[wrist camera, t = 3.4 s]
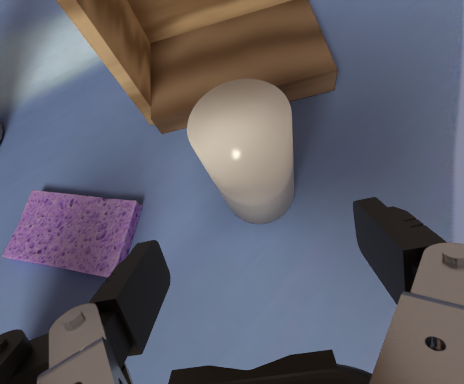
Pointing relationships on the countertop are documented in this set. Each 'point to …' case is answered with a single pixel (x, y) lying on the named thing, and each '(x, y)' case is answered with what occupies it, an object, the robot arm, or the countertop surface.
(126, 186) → the countertop surface
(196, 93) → the wooden c-shaped stand
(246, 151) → the candle
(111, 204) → the sponges
